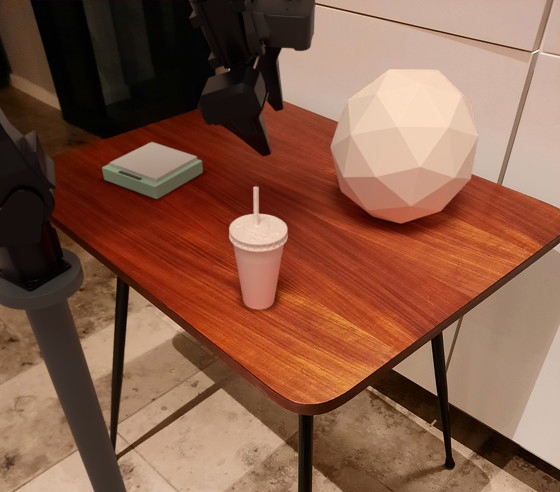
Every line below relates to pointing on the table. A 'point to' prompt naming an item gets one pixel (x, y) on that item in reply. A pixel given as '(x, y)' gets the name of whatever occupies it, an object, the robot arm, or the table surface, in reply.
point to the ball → (405, 144)
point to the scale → (153, 170)
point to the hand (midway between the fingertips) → (273, 131)
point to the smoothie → (258, 254)
